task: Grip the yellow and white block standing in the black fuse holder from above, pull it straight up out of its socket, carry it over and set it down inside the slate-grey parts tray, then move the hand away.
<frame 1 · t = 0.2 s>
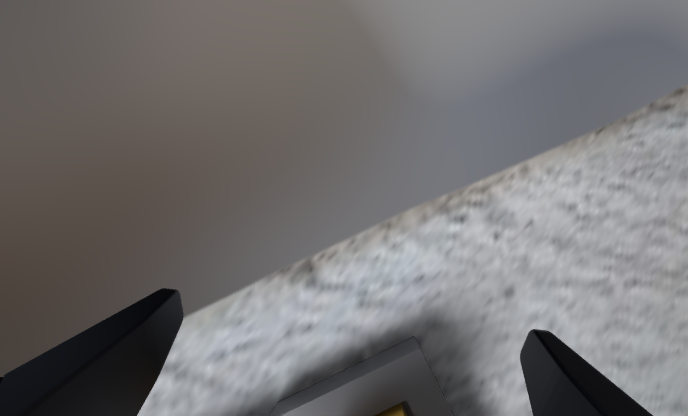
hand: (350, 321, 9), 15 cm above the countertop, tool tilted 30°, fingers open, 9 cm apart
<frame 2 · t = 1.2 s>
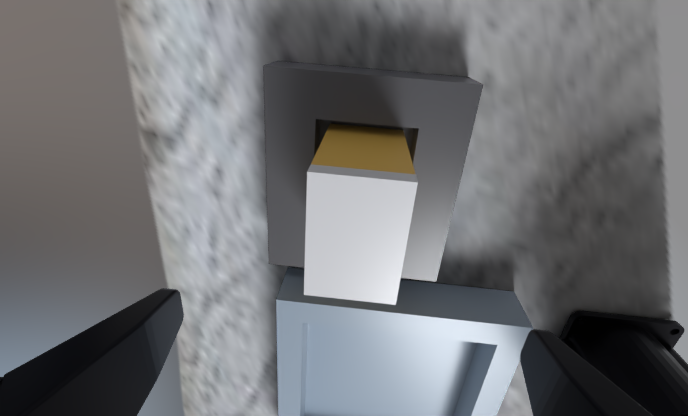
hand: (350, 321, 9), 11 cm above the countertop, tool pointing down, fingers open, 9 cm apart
parts tray: (383, 367, 26), on the countertop
yellow and white block: (361, 175, 18), point 1 cm above the countertop, touching fuse holder
fuse holder: (362, 168, 19), on the countertop
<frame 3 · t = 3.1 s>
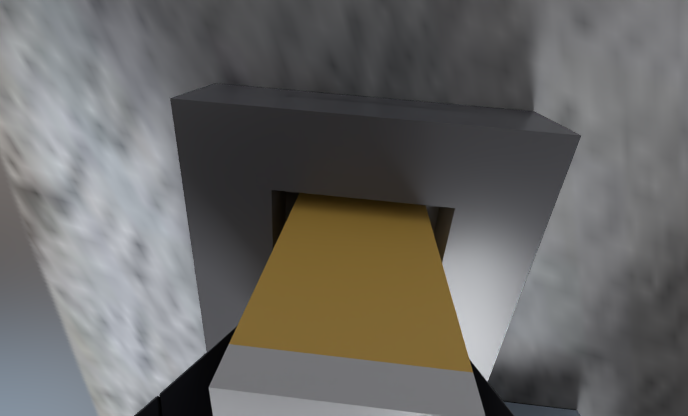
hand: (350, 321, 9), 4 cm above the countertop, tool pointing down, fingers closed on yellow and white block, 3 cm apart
yellow and white block: (355, 263, 11), point 1 cm above the countertop, touching fuse holder, gripper
fuse holder: (356, 246, 12), on the countertop
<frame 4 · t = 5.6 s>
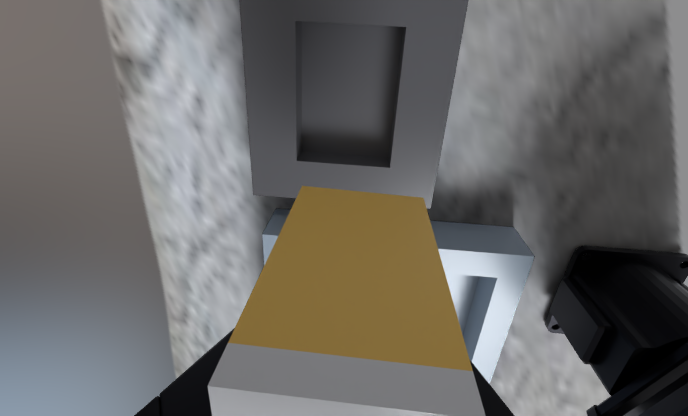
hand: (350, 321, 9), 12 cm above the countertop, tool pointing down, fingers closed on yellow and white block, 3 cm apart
parts tray: (380, 319, 25), on the countertop
yellow and white block: (354, 262, 11), point 9 cm above the countertop, touching gripper
fuse holder: (349, 91, 18), on the countertop
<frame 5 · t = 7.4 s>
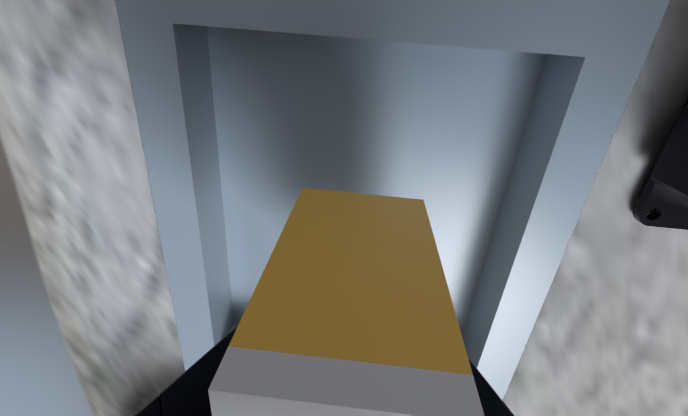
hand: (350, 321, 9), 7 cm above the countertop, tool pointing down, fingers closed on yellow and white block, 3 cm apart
parts tray: (357, 207, 15), on the countertop
yellow and white block: (355, 264, 11), point 4 cm above the countertop, touching gripper
when the fingers open (5 cm above the countertop, at t = 8.4 s): yellow and white block drops 2 cm, resting on parts tray.
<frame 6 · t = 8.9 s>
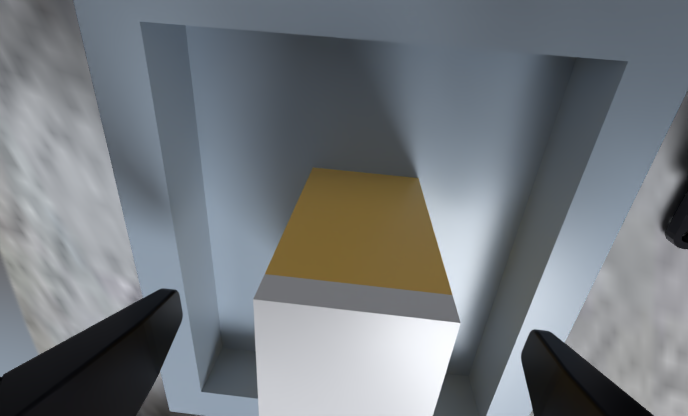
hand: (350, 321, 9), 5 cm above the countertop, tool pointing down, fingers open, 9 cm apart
parts tray: (357, 226, 14), on the countertop
yellow and white block: (358, 237, 13), point 1 cm above the countertop, touching parts tray
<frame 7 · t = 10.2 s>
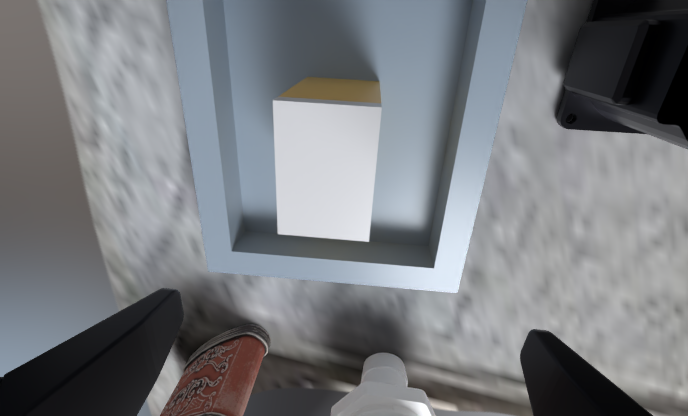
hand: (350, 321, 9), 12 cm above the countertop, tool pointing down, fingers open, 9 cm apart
lighter: (229, 349, 28), on the countertop
pipe fitting: (383, 365, 27), on the countertop
parts tray: (341, 126, 19), on the countertop
yellow and white block: (340, 130, 18), point 1 cm above the countertop, touching parts tray
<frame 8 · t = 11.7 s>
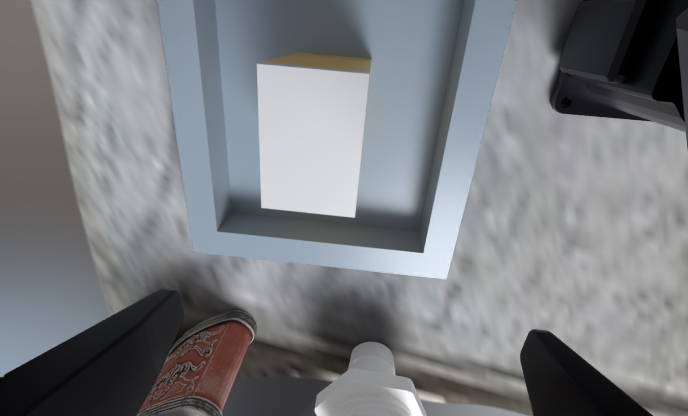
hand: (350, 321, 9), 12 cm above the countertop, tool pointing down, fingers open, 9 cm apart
lighter: (215, 336, 27), on the countertop
pipe fitting: (371, 354, 27), on the countertop
parts tray: (332, 106, 19), on the countertop
yellow and white block: (331, 109, 18), point 1 cm above the countertop, touching parts tray
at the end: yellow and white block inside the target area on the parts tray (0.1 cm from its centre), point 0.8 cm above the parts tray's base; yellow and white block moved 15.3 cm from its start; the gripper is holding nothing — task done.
